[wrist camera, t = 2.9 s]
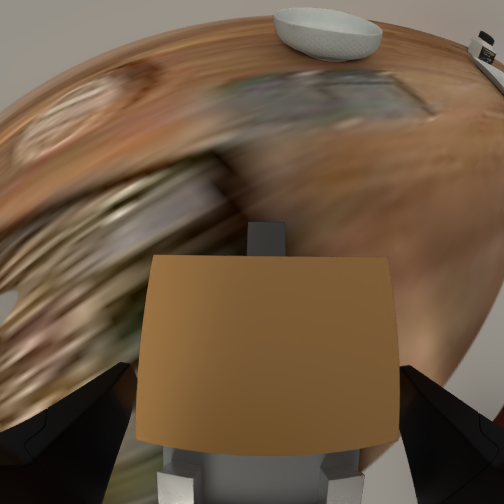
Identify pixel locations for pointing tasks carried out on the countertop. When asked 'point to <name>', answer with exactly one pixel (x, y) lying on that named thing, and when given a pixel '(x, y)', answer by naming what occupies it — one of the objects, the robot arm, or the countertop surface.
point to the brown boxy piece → (268, 352)
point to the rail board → (260, 475)
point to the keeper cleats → (191, 484)
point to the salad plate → (491, 73)
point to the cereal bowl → (327, 33)
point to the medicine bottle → (483, 48)
